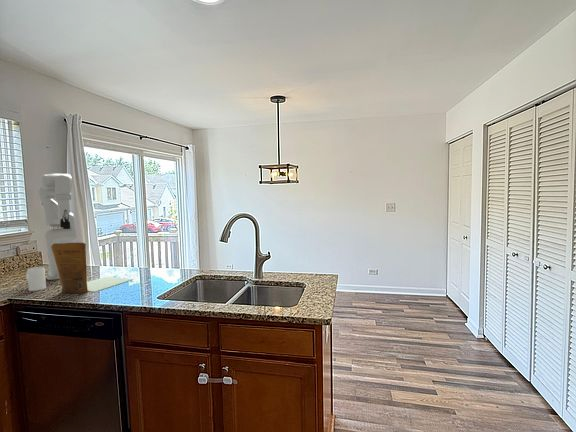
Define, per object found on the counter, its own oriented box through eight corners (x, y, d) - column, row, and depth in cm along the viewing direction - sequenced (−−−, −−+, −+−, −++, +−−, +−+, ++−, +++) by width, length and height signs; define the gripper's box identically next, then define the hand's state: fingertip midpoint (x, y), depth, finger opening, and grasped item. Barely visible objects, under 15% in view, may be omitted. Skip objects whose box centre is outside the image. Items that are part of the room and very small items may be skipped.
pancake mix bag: (84, 294, 185) (81, 243, 183) (53, 293, 188) (49, 243, 186) (93, 291, 192) (90, 241, 190) (62, 290, 195) (59, 241, 193)
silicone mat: (66, 288, 198) (66, 287, 198) (106, 277, 223) (106, 276, 223) (94, 292, 190) (94, 291, 190) (132, 279, 215) (132, 279, 215)
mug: (20, 289, 197) (19, 269, 196) (36, 285, 205) (34, 265, 204) (35, 291, 193) (33, 270, 192) (50, 287, 201) (48, 267, 200)
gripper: (53, 197, 196) (55, 227, 197) (57, 198, 183) (59, 230, 184) (68, 197, 201) (70, 226, 202) (74, 197, 187) (75, 228, 189)
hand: (65, 228), depth 193 cm, fingers open, 9 cm apart
